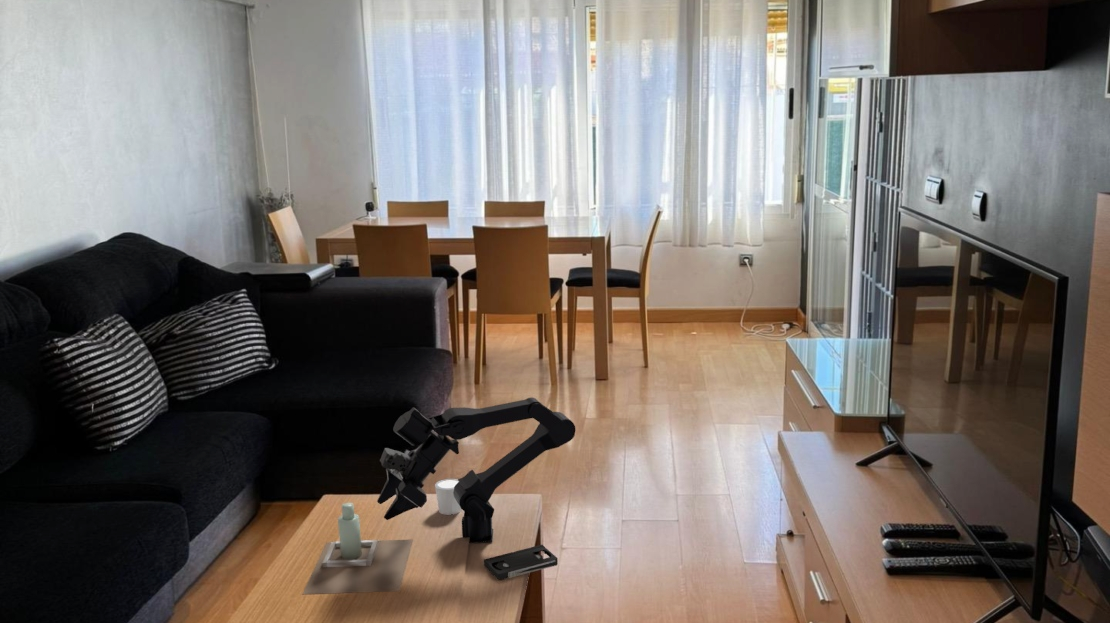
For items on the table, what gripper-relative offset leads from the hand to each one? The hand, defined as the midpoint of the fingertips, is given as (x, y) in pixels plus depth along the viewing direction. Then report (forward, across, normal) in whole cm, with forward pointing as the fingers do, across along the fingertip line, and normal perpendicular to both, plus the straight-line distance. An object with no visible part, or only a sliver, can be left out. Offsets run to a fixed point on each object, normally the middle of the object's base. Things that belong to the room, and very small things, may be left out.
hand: (381, 510), depth 221 cm
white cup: (-6, -18, +21) cm, 28 cm away
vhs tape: (-11, +17, +27) cm, 34 cm away
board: (+12, +6, +3) cm, 13 cm away
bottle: (+12, 0, +1) cm, 12 cm away
